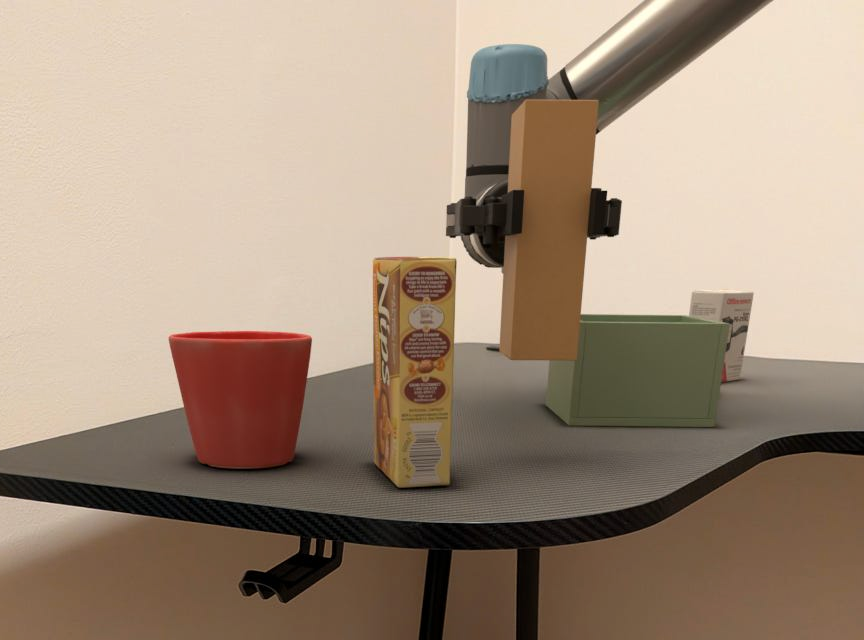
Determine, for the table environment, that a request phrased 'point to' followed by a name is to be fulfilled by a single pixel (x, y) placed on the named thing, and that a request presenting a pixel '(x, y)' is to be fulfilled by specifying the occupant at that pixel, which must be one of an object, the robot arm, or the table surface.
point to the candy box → (413, 368)
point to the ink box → (728, 310)
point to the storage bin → (641, 372)
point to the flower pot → (242, 394)
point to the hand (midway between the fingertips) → (558, 212)
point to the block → (548, 228)
